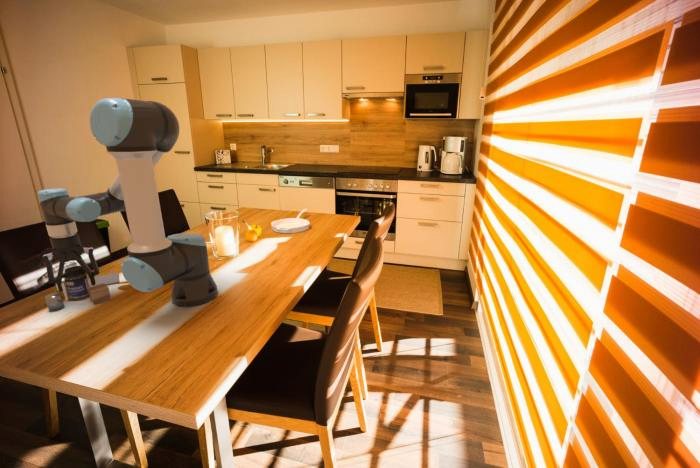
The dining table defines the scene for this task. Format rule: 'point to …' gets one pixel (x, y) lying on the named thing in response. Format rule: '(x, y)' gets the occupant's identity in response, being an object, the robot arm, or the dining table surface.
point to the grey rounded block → (54, 302)
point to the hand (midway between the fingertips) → (80, 296)
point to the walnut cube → (99, 293)
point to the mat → (107, 279)
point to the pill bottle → (76, 283)
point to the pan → (291, 224)
